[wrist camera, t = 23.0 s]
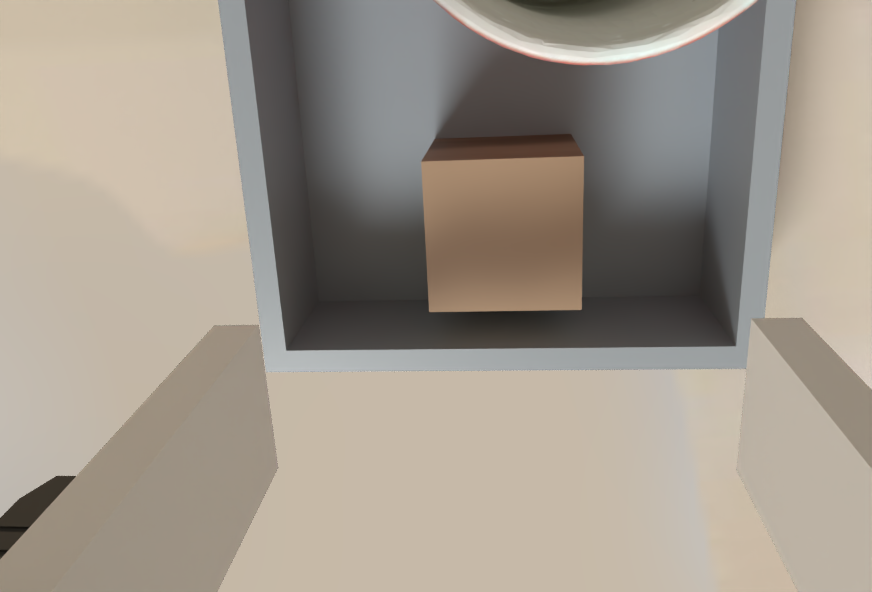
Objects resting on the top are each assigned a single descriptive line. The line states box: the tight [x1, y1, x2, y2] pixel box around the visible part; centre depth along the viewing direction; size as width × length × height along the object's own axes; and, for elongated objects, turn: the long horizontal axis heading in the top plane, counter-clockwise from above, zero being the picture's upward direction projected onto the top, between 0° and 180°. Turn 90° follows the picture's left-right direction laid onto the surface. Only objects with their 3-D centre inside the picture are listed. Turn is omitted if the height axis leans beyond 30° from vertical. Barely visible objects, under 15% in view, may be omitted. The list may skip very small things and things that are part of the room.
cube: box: [421, 134, 584, 312], centre depth 27 cm, size 5×5×5 cm
